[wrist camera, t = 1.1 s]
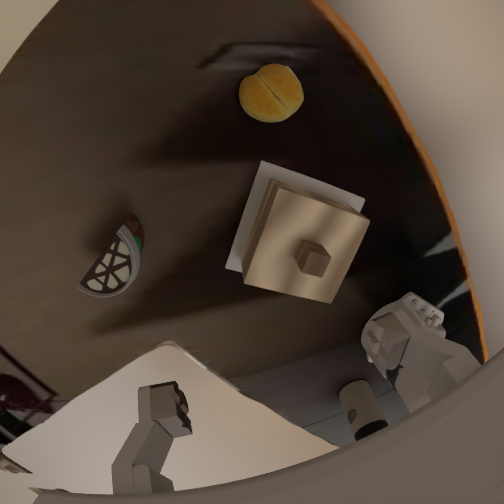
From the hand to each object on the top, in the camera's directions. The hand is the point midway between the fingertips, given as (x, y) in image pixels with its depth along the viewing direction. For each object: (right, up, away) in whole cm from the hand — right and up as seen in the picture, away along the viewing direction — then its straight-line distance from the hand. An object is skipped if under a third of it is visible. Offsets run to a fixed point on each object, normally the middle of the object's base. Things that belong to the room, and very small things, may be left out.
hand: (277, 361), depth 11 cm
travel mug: (+24, -30, +56) cm, 68 cm away
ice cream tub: (-21, +5, +35) cm, 41 cm away
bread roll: (+2, +27, +28) cm, 39 cm away
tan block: (+6, +7, +36) cm, 37 cm away
